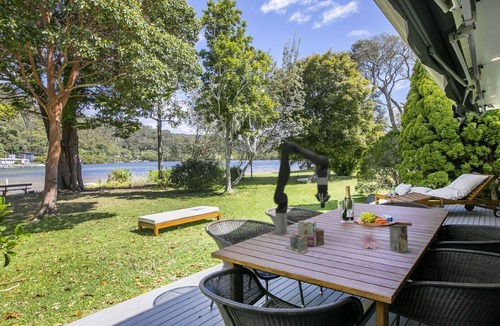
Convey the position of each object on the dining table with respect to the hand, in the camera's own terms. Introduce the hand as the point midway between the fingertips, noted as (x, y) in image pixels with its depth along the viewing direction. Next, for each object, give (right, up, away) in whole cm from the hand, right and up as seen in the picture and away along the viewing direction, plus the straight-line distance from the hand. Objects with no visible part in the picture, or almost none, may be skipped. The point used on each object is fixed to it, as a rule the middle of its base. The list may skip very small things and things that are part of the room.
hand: (322, 207), depth 203 cm
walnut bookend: (-8, -24, -6) cm, 26 cm away
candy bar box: (-13, -24, -10) cm, 29 cm away
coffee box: (+43, -24, -21) cm, 54 cm away
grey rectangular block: (-13, -25, -10) cm, 30 cm away
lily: (+27, -25, -15) cm, 39 cm away
